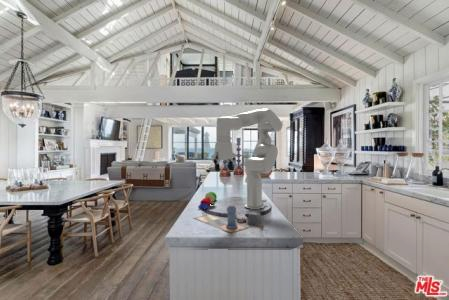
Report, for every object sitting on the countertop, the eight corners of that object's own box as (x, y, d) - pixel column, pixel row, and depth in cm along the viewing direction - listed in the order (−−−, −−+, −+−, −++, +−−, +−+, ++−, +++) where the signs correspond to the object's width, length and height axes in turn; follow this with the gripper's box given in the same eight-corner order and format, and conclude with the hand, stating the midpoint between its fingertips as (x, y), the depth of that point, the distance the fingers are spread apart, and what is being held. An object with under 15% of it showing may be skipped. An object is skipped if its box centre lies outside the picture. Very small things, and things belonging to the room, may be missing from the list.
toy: (210, 214, 170) (220, 198, 181) (206, 205, 166) (217, 189, 177) (199, 213, 174) (209, 197, 185) (195, 204, 171) (206, 188, 181)
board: (209, 214, 158) (209, 214, 158) (249, 227, 134) (249, 227, 134) (192, 218, 151) (192, 218, 151) (230, 233, 126) (230, 233, 126)
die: (252, 220, 145) (251, 211, 145) (260, 222, 143) (260, 212, 143) (248, 223, 141) (248, 213, 141) (257, 224, 139) (256, 214, 138)
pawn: (232, 224, 139) (231, 203, 138) (239, 227, 134) (239, 205, 134) (223, 227, 135) (223, 205, 135) (231, 229, 131) (230, 207, 130)
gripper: (231, 139, 159) (231, 168, 160) (207, 139, 148) (207, 171, 149) (239, 139, 153) (240, 169, 154) (215, 139, 142) (216, 172, 143)
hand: (224, 170), depth 152 cm, fingers open, 9 cm apart
